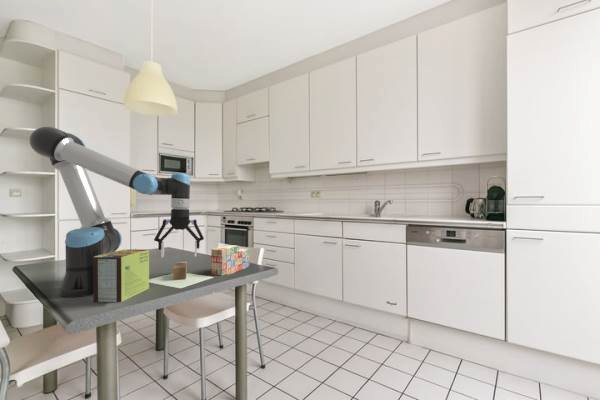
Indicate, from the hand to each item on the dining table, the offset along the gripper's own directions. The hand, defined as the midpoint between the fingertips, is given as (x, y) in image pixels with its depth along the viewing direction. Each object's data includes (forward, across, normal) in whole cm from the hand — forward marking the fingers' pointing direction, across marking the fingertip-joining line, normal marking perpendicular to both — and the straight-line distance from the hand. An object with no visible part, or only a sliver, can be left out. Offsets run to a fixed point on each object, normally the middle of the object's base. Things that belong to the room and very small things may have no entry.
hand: (179, 256), depth 130 cm
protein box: (+10, -17, -21) cm, 28 cm away
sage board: (+9, +1, -6) cm, 11 cm away
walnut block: (+6, +1, -7) cm, 9 cm away
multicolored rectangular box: (+9, +23, +5) cm, 25 cm away
